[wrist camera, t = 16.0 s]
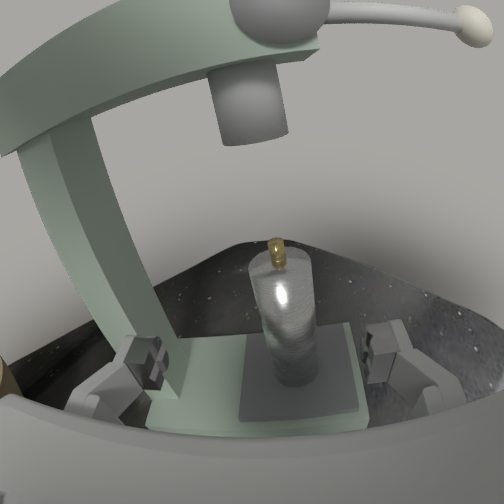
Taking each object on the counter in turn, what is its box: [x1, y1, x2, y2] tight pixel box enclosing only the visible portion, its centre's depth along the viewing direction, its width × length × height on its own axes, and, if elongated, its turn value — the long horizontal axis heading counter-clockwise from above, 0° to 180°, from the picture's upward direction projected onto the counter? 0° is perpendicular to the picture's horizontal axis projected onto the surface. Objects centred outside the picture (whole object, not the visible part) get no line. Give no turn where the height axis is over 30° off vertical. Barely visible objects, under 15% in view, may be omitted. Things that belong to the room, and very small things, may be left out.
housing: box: [248, 238, 319, 387], centre depth 27 cm, size 5×5×16 cm
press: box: [0, 0, 494, 437], centre depth 23 cm, size 38×14×39 cm, turn 87°
